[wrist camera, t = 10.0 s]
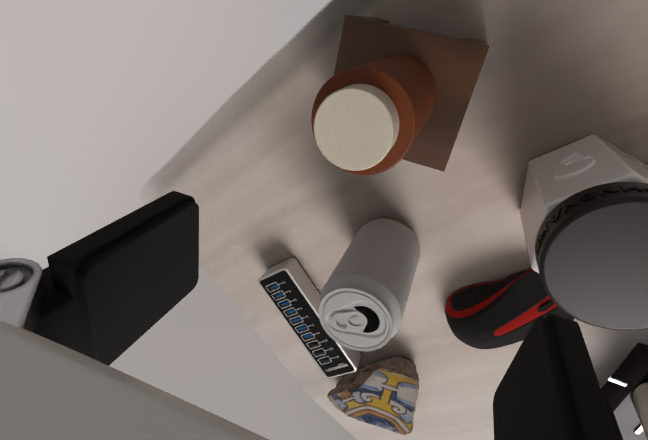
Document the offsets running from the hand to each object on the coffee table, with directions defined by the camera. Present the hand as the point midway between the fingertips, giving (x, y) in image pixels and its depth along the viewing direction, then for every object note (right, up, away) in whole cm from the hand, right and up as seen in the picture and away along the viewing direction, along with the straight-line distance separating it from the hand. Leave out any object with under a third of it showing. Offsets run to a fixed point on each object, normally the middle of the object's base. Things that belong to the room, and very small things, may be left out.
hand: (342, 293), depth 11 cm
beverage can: (+6, 0, +28) cm, 29 cm away
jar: (+20, +4, +20) cm, 29 cm away
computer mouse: (+16, -6, +27) cm, 32 cm away
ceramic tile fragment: (+2, -15, +35) cm, 38 cm away
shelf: (+7, +13, +21) cm, 26 cm away
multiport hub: (-1, -9, +35) cm, 36 cm away
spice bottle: (+4, +10, +15) cm, 19 cm away
